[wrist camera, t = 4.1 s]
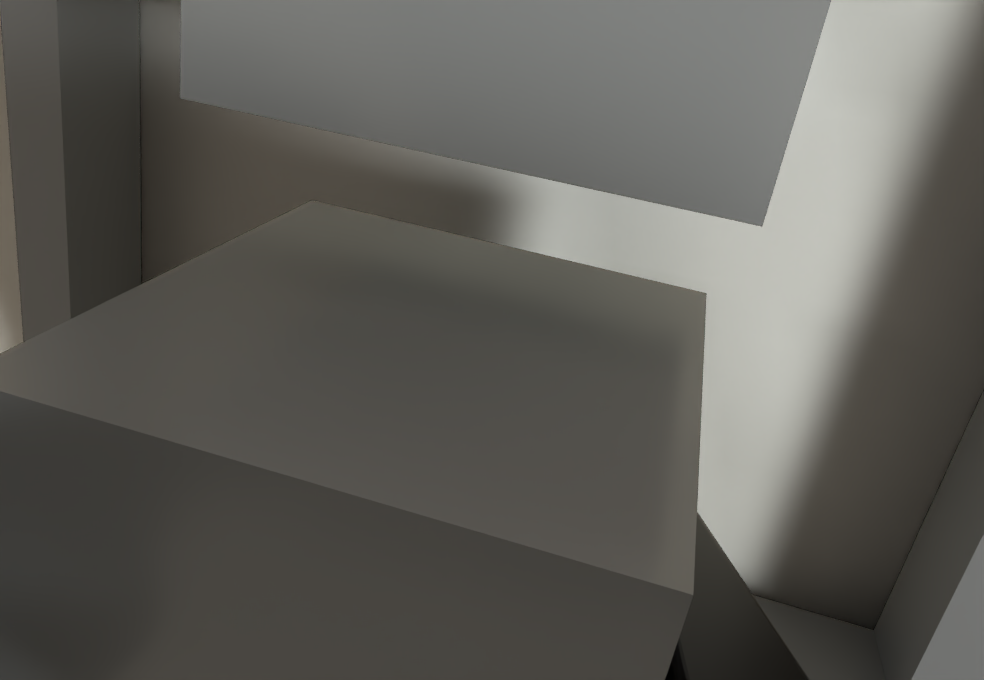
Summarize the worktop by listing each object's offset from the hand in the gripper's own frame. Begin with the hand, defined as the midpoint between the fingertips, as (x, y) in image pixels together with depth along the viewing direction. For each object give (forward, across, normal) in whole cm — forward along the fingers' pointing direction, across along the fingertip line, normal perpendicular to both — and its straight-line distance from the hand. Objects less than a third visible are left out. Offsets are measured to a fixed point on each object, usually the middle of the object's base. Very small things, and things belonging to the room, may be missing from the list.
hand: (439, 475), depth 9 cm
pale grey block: (+1, 0, 0) cm, 1 cm away
